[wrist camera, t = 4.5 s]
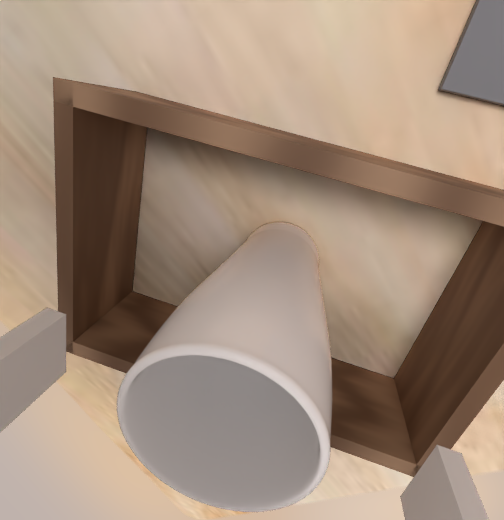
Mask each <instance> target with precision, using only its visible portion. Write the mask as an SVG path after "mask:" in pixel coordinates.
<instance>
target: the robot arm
mask: <svg viewBox="0 0 504 520" xmlns="http://www.w3.org/2000/svg"><path fill="white" fill-rule="evenodd" d="M65 372H66V314H64V313H61V312H58V311H56V310H53V309H50V308H46V309H44V310H42V311H41V312H39V313H38V314H36V315H35V316H33V317H31V318H30V319H28V320H27V321H25V322H23V323H22V324H20V325H19V326H17V327H16V328H14V329H12V330H11V331H9V332H8V333H6V334H5V335H3V336H1V337H0V432H2V431H3V430H4V429H5V428H6V427H7V426H8V425H9V424H10V423H11V422H12V421H13V420H14V419H15V418H17V417H18V416H19V415H20V414H21V413H22V412H23V411H24V410H25V409H26V408H27V407H28V406H30V405H31V404H32V403H33V402H34V401H35V400H36V399H37V398H38V397H39V396H40V395H41V394H43V393H44V392H45V391H46V390H47V389H48V388H49V387H50V386H51V385H52V384H53V383H55V382H56V381H57V380H58V379H59V378H60V377H61V376H62V375H63V374H64V373H65ZM400 497H401V501H402V506H403V511H404V517H405V520H489V518H488V516H487V513H486V511H485V509H484V506H483V504H482V501H481V499H480V497H479V494H478V492H477V489H476V487H475V485H474V482H473V480H472V477H471V475H470V472H469V470H468V468H467V465H466V463H465V460H464V458H463V456H462V453H459V452H456V451H453V450H450V449H448V448H445V447H442V446H439V445H436V447H435V448H434V450H433V451H432V452H431V454H430V455H429V457H428V458H427V459H426V461H425V462H424V464H423V465H422V467H421V468H420V469H419V471H418V472H417V474H416V475H415V476H414V478H413V479H412V481H411V482H410V483H409V485H408V486H407V488H406V489H405V491H404V492H403V493H402V495H401V496H400Z"/></svg>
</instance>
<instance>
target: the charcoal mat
mask: <svg viewBox="0 0 504 520" xmlns="http://www.w3.org/2000/svg"><path fill="white" fill-rule="evenodd" d="M438 90H440V91H445V92H449V93H453V94H457V95H461V96H465V97H469V98H473V99H477V100H482V101H486V102H490V103H494V104H498V105H502V106H504V0H476V2H475V5H474V7H473V9H472V12H471V14H470V16H469V19H468V21H467V23H466V26H465V28H464V30H463V33H462V35H461V37H460V40H459V42H458V44H457V47H456V49H455V51H454V54H453V56H452V58H451V61H450V63H449V65H448V68H447V70H446V73H445V75H444V77H443V80H442V82H441V84H440V87H439V89H438Z"/></svg>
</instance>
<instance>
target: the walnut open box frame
mask: <svg viewBox="0 0 504 520" xmlns="http://www.w3.org/2000/svg"><path fill="white" fill-rule="evenodd" d="M53 96H54V140H55V185H56V230H57V274H58V312H61V313H64V314H66V352H69V353H72V354H75V355H77V356H80V357H83V358H86V359H88V360H91V361H94V362H97V363H100V364H102V365H105V366H108V367H111V368H113V369H116V370H119V371H122V372H125V373H127V372H128V371H129V369H130V368H131V367H132V365H133V364H134V363H135V361H136V360H137V358H138V357H139V355H140V354H141V353H142V351H143V350H144V348H145V347H146V346H147V344H148V343H149V342H150V340H151V339H152V338H153V336H154V335H155V334H156V332H157V331H158V330H159V329H160V327H161V326H162V325H163V323H164V322H165V321H166V320H167V319H168V317H169V316H170V315H171V314H172V313H173V311H174V310H175V309H176V308H177V306H174V305H171V304H168V303H165V302H162V301H159V300H156V299H153V298H150V297H147V296H144V295H141V294H138V293H135V292H132V287H133V276H134V265H135V254H136V244H137V233H138V222H139V211H140V200H141V189H142V178H143V167H144V156H145V145H146V134H147V127H148V128H151V129H155V130H159V131H162V132H166V133H169V134H173V135H177V136H180V137H184V138H187V139H191V140H195V141H198V142H202V143H205V144H209V145H212V146H216V147H220V148H223V149H227V150H230V151H234V152H238V153H241V154H245V155H248V156H252V157H256V158H259V159H263V160H266V161H270V162H274V163H277V164H281V165H284V166H288V167H292V168H295V169H299V170H302V171H306V172H309V173H313V174H317V175H320V176H324V177H327V178H331V179H335V180H338V181H342V182H345V183H349V184H353V185H356V186H360V187H363V188H367V189H371V190H374V191H378V192H381V193H385V194H389V195H392V196H396V197H399V198H403V199H406V200H410V201H414V202H417V203H421V204H424V205H428V206H432V207H435V208H439V209H442V210H446V211H450V212H453V213H457V214H460V215H464V216H468V217H471V218H475V219H478V220H482V221H483V223H482V225H481V227H480V228H479V230H478V232H477V234H476V235H475V237H474V239H473V241H472V243H471V244H470V246H469V248H468V250H467V251H466V253H465V255H464V257H463V258H462V260H461V262H460V264H459V265H458V267H457V269H456V271H455V272H454V274H453V276H452V278H451V279H450V281H449V283H448V285H447V286H446V288H445V290H444V292H443V294H442V295H441V297H440V299H439V301H438V302H437V304H436V306H435V308H434V309H433V311H432V313H431V315H430V316H429V318H428V320H427V322H426V323H425V325H424V327H423V329H422V330H421V332H420V334H419V336H418V338H417V339H416V341H415V343H414V345H413V346H412V348H411V350H410V352H409V353H408V355H407V357H406V359H405V360H404V362H403V364H402V366H401V367H400V369H399V371H398V373H397V374H396V376H395V378H394V379H393V378H390V377H387V376H384V375H381V374H378V373H375V372H372V371H369V370H366V369H363V368H360V367H357V366H354V365H351V364H348V363H345V362H342V361H339V360H336V359H333V358H331V361H332V388H333V396H332V424H331V442H330V447H332V448H335V449H338V450H341V451H343V452H346V453H349V454H352V455H354V456H357V457H360V458H363V459H365V460H368V461H371V462H374V463H377V464H379V465H382V466H385V467H388V468H390V469H393V470H396V471H399V472H401V473H404V474H407V475H410V476H413V477H414V476H415V475H416V474H417V472H418V471H419V469H420V468H421V467H422V465H423V464H424V462H425V461H426V459H427V458H428V457H429V455H430V454H431V452H432V451H433V450H434V448H435V447H436V445H439V446H442V447H445V448H448V449H451V448H452V447H453V446H454V444H455V443H456V442H457V440H458V439H459V438H460V436H461V435H462V434H463V432H464V431H465V430H466V428H467V427H468V426H469V425H470V423H471V422H472V421H473V419H474V418H475V417H476V415H477V414H478V413H479V411H480V410H481V409H482V408H483V406H484V405H485V404H486V402H487V401H488V400H489V398H490V397H491V396H492V394H493V393H494V392H495V390H496V389H497V388H498V387H499V385H500V384H501V383H502V381H503V380H504V190H501V189H498V188H494V187H490V186H486V185H483V184H479V183H475V182H472V181H468V180H464V179H460V178H457V177H453V176H449V175H445V174H442V173H438V172H434V171H430V170H427V169H423V168H419V167H416V166H412V165H408V164H404V163H401V162H397V161H393V160H389V159H386V158H382V157H378V156H374V155H371V154H367V153H363V152H359V151H356V150H352V149H348V148H345V147H341V146H337V145H333V144H330V143H326V142H322V141H318V140H315V139H311V138H307V137H303V136H300V135H296V134H292V133H289V132H285V131H281V130H277V129H274V128H270V127H266V126H262V125H259V124H255V123H251V122H247V121H244V120H240V119H236V118H232V117H229V116H225V115H221V114H218V113H214V112H210V111H206V110H203V109H199V108H195V107H191V106H188V105H184V104H180V103H176V102H173V101H169V100H165V99H162V98H158V97H154V96H150V95H147V94H143V93H139V92H135V91H129V90H124V89H118V88H112V87H106V86H101V85H95V84H89V83H83V82H78V81H72V80H66V79H60V78H55V77H53Z"/></svg>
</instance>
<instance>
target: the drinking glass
mask: <svg viewBox="0 0 504 520" xmlns="http://www.w3.org/2000/svg"><path fill="white" fill-rule="evenodd" d="M332 396H333V388H332V361H331V348H330V340H329V333H328V326H327V320H326V313H325V307H324V301H323V294H322V288H321V281H320V274H319V254H318V250H317V247H316V245H315V243H314V241H313V240H312V238H311V237H310V236H309V235H308V234H307V233H306V232H305V231H304V230H302V229H301V228H299V227H297V226H295V225H293V224H289V223H284V222H274V223H269V224H266V225H263V226H261V227H259V228H258V229H256V230H255V231H254V232H253V233H252V234H251V235H250V236H249V237H248V238H247V240H246V241H245V243H244V244H243V245H241V246H240V247H239V248H238V249H237V250H236V251H235V252H234V253H233V254H232V255H231V256H230V257H229V258H228V259H227V260H226V261H224V262H223V263H222V264H221V265H220V266H219V267H218V268H217V269H216V270H215V271H214V272H212V273H211V274H210V275H209V276H208V277H207V278H206V279H205V280H204V281H203V282H202V283H201V284H199V285H198V286H197V287H196V288H195V289H194V290H193V291H192V292H191V293H190V294H189V295H188V296H187V297H186V298H185V299H184V300H183V301H182V302H181V304H180V305H179V306H178V307H177V308H176V309H175V310H174V311H173V313H172V314H171V315H170V316H169V317H168V319H167V320H166V321H165V322H164V323H163V325H162V326H161V327H160V329H159V330H158V331H157V332H156V334H155V335H154V336H153V338H152V339H151V340H150V342H149V343H148V344H147V346H146V347H145V348H144V350H143V351H142V353H141V354H140V355H139V357H138V358H137V360H136V361H135V363H134V364H133V365H132V367H131V368H130V369H129V371H128V372H127V373H126V375H125V377H124V378H123V380H122V383H121V385H120V388H119V392H118V396H117V415H118V420H119V424H120V428H121V430H122V433H123V435H124V437H125V439H126V442H127V443H128V445H129V447H130V448H131V450H132V451H133V453H134V454H135V455H136V457H137V458H138V459H139V460H140V461H141V463H142V464H143V465H144V466H145V467H146V468H147V469H148V470H149V471H150V472H151V473H153V474H154V475H155V476H156V477H157V478H159V479H160V480H161V481H162V482H164V483H165V484H167V485H168V486H170V487H171V488H173V489H174V490H176V491H178V492H180V493H182V494H183V495H185V496H187V497H190V498H192V499H194V500H196V501H199V502H201V503H204V504H207V505H210V506H214V507H217V508H222V509H226V510H233V511H241V512H264V511H271V510H276V509H281V508H284V507H287V506H290V505H292V504H294V503H296V502H298V501H300V500H302V499H303V498H305V497H306V496H307V495H309V494H310V493H311V492H312V491H313V490H314V489H315V488H316V487H317V486H318V485H319V483H320V482H321V480H322V479H323V477H324V475H325V473H326V470H327V468H328V464H329V459H330V449H331V448H330V442H331V424H332Z"/></svg>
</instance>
